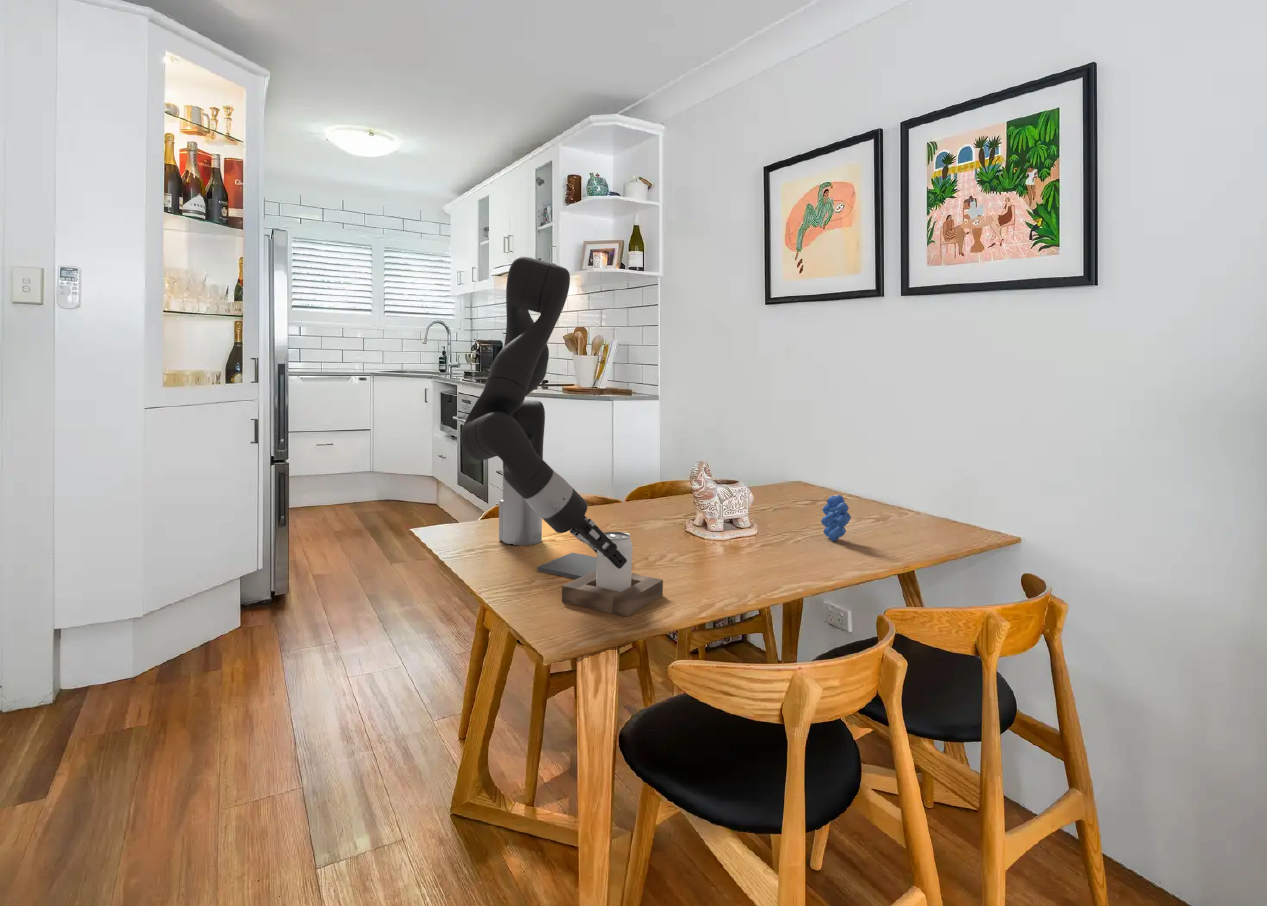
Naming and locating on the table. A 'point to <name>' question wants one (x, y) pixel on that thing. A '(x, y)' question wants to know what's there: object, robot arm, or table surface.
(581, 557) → the mat
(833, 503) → the grapes
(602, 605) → the collar
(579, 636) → the table surface
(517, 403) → the robot arm
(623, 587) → the can
